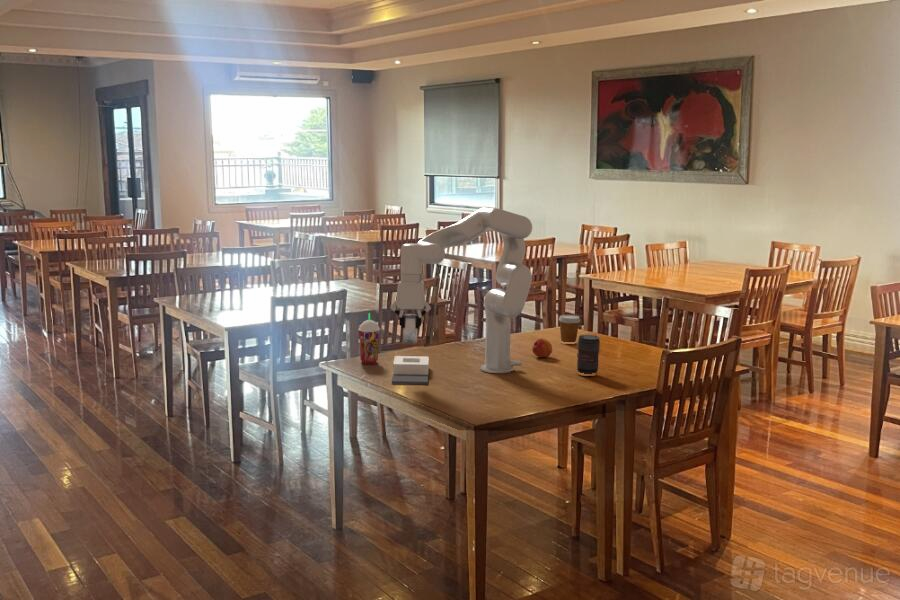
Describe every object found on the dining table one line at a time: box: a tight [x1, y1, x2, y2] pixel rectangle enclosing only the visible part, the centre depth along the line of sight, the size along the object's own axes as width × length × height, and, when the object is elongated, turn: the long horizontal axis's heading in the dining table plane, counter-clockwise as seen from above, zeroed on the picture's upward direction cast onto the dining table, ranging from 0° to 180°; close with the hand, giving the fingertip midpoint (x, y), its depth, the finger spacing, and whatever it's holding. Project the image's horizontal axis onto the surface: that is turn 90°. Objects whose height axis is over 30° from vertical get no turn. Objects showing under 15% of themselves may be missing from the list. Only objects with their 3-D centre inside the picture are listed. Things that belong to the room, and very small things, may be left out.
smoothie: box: [358, 312, 381, 365], centre depth 344 cm, size 8×8×20 cm
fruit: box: [531, 338, 553, 358], centre depth 360 cm, size 8×8×8 cm
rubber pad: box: [391, 373, 429, 385], centre depth 320 cm, size 13×10×1 cm
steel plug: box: [402, 313, 418, 345], centre depth 317 cm, size 5×5×10 cm
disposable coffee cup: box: [558, 314, 581, 342], centre depth 387 cm, size 10×10×12 cm
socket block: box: [392, 355, 430, 376], centre depth 333 cm, size 13×13×4 cm
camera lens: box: [576, 334, 601, 374], centre depth 332 cm, size 8×8×15 cm
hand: (410, 327), depth 317 cm, fingers closed on steel plug, 5 cm apart
